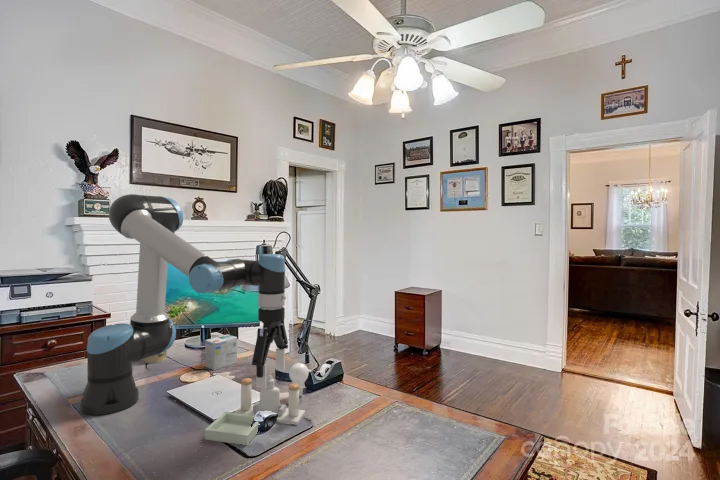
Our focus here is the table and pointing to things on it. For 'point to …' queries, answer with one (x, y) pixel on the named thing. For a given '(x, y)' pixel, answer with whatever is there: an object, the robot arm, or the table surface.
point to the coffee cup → (156, 358)
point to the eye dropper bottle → (270, 397)
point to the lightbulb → (299, 375)
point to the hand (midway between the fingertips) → (271, 378)
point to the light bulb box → (220, 352)
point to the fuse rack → (285, 414)
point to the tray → (232, 428)
